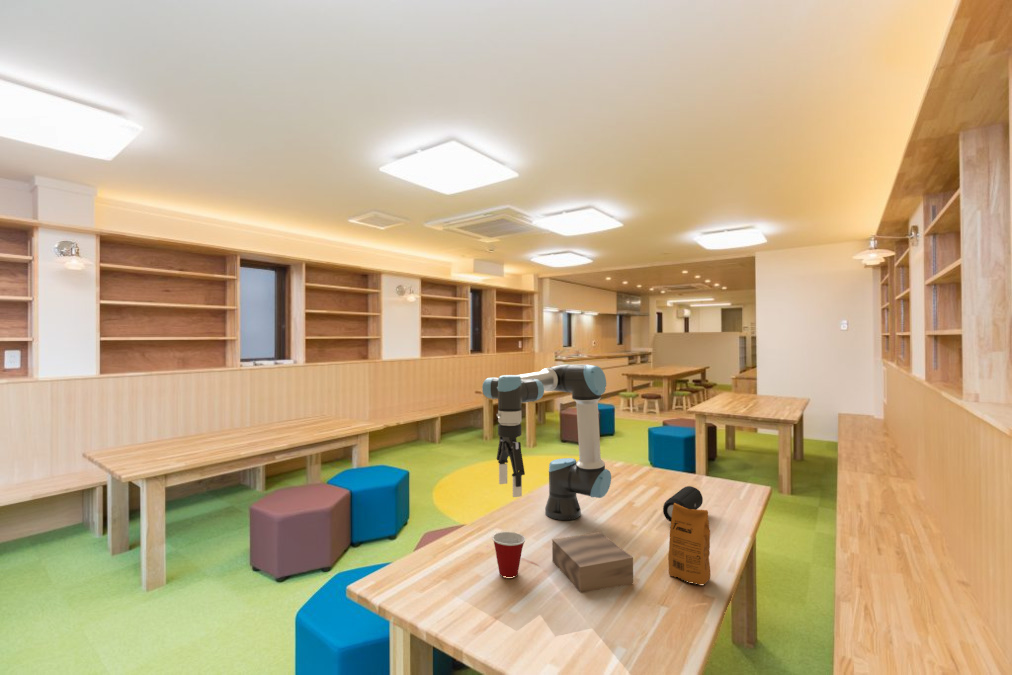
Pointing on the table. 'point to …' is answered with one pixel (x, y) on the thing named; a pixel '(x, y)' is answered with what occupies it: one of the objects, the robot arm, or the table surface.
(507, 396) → the robot arm
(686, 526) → the coffee package
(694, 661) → the table surface
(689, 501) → the portable speaker
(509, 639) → the table surface
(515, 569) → the plastic cup
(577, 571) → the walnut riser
